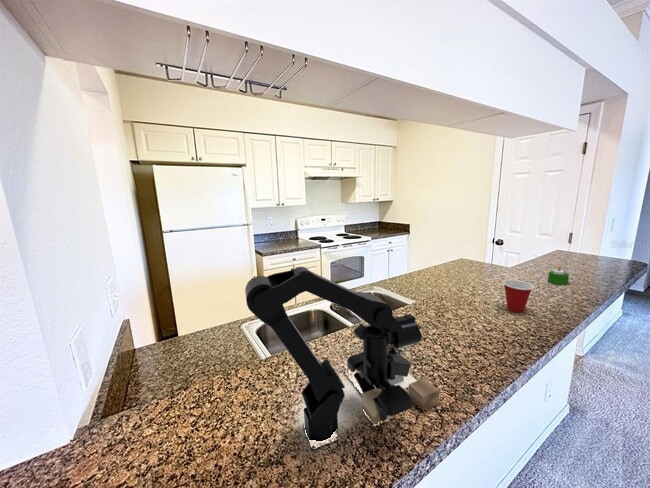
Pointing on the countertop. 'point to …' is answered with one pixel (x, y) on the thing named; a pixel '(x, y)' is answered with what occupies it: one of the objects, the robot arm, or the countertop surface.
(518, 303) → the plastic cup
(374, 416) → the maple cube
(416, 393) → the walnut block
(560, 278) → the candle
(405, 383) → the board
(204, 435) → the countertop surface
